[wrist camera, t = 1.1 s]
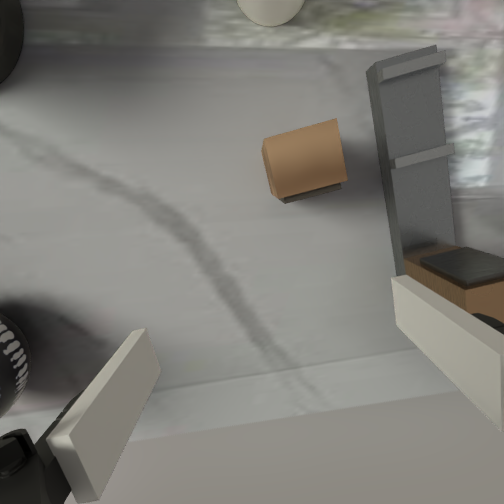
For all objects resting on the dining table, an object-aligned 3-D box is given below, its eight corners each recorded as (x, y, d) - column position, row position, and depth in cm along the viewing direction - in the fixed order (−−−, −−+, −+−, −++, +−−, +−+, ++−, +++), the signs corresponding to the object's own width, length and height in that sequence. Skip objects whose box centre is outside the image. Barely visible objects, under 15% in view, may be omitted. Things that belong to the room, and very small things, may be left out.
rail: (365, 71, 31) (438, 0, 19) (421, 55, 30) (533, -29, 18) (401, 310, 37) (472, 371, 25) (448, 299, 37) (542, 356, 25)
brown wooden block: (261, 151, 33) (264, 138, 23) (312, 137, 32) (336, 118, 23) (272, 198, 34) (280, 205, 24) (321, 185, 34) (349, 187, 24)
